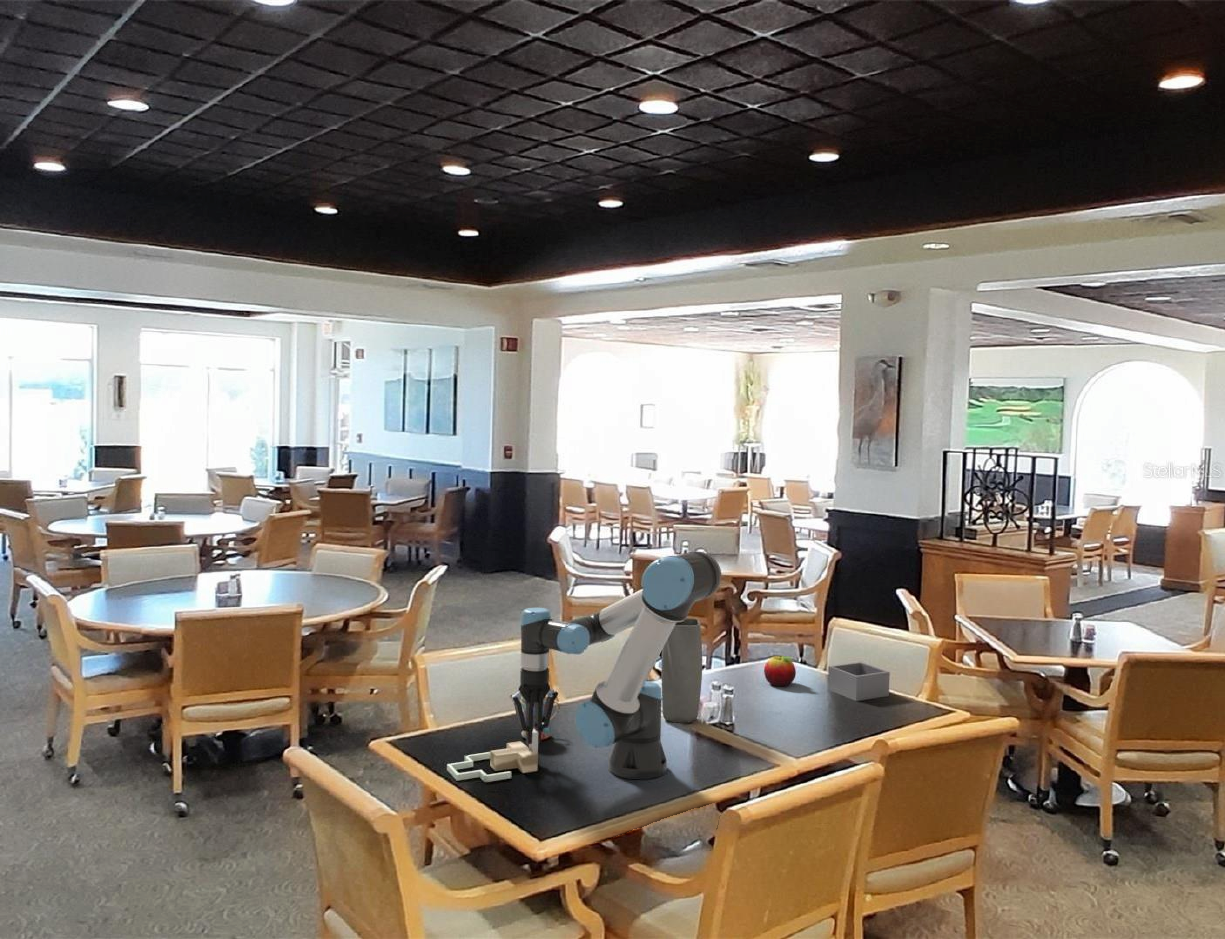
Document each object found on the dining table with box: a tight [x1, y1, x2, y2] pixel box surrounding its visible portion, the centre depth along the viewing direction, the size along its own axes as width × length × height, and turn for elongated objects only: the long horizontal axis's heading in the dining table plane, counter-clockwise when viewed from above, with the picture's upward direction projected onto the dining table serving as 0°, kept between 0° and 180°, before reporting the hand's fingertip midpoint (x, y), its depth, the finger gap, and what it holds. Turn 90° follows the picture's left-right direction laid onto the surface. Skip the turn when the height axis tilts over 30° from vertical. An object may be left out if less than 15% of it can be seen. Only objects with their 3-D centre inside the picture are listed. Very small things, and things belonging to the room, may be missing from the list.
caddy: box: [827, 661, 891, 702], centre depth 328 cm, size 14×14×8 cm
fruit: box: [763, 654, 797, 687], centre depth 336 cm, size 11×11×10 cm
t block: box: [489, 740, 539, 774], centre depth 257 cm, size 12×10×4 cm
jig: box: [446, 751, 512, 783], centre depth 253 cm, size 16×13×2 cm
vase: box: [660, 617, 703, 724], centre depth 296 cm, size 12×12×30 cm
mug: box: [520, 696, 561, 741], centre depth 280 cm, size 12×9×11 cm
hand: (533, 754), depth 260 cm, fingers closed
